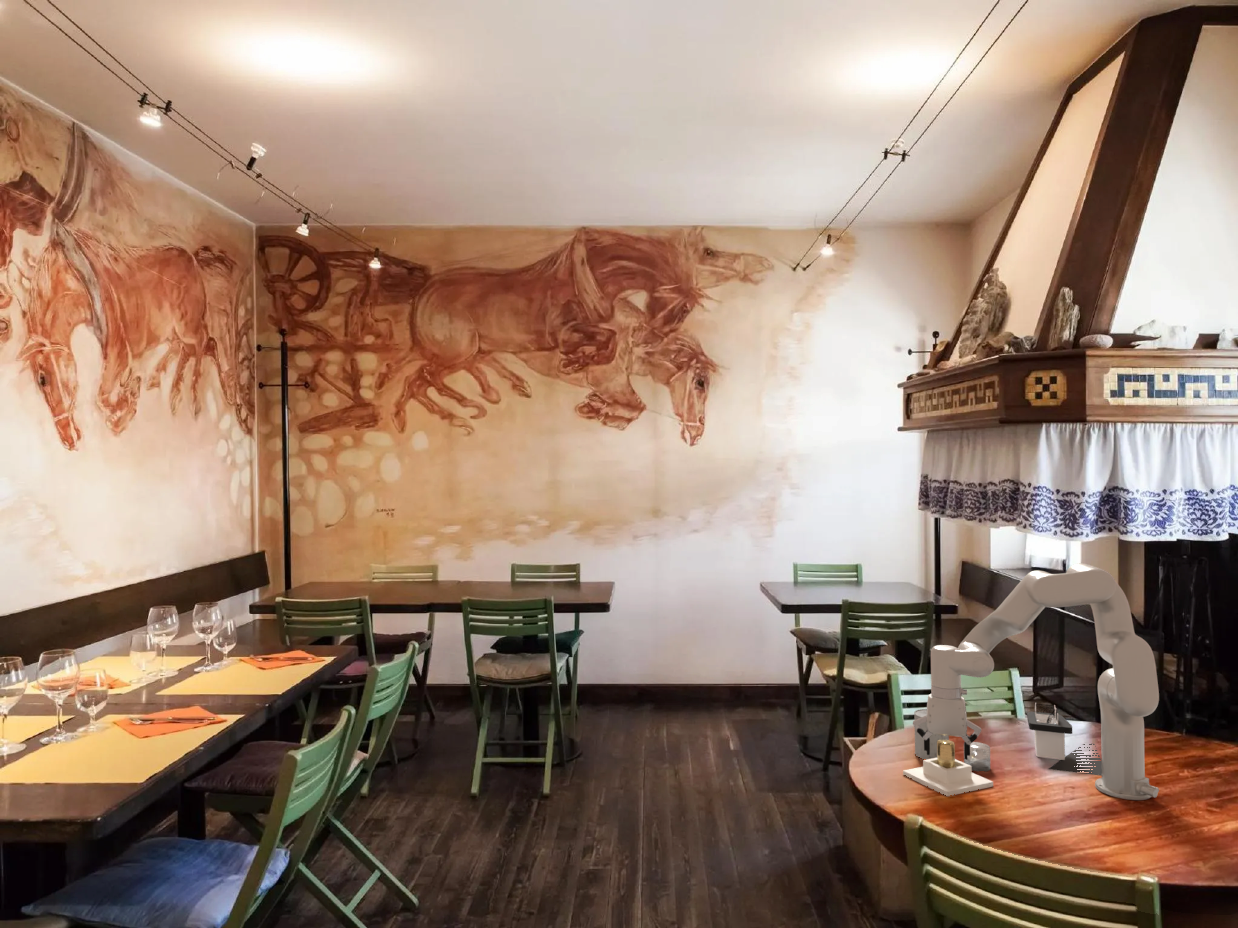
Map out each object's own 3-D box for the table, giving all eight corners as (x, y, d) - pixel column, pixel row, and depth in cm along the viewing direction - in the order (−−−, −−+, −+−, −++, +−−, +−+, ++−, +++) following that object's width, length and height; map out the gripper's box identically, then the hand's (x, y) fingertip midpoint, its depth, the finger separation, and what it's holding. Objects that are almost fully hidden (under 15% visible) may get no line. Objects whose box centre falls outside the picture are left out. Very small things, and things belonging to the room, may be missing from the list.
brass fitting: (958, 776, 217) (958, 743, 217) (946, 779, 215) (945, 745, 215) (946, 771, 221) (945, 738, 221) (933, 773, 220) (933, 740, 220)
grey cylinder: (943, 750, 241) (943, 709, 241) (953, 762, 231) (953, 719, 231) (910, 749, 242) (910, 708, 242) (919, 761, 232) (919, 718, 232)
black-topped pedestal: (1108, 776, 220) (1107, 727, 220) (1001, 763, 230) (1001, 716, 230) (1094, 744, 245) (1093, 700, 245) (999, 733, 256) (998, 691, 256)
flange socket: (993, 786, 214) (993, 768, 214) (947, 796, 208) (946, 778, 208) (947, 765, 228) (947, 749, 229) (903, 774, 222) (902, 757, 222)
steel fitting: (995, 769, 226) (995, 747, 226) (977, 773, 223) (977, 751, 223) (976, 761, 232) (976, 740, 232) (958, 764, 229) (958, 743, 229)
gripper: (980, 691, 218) (981, 754, 218) (912, 685, 225) (913, 747, 225) (981, 698, 211) (982, 764, 211) (911, 692, 218) (912, 756, 218)
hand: (946, 755), depth 218 cm, fingers open, 9 cm apart
